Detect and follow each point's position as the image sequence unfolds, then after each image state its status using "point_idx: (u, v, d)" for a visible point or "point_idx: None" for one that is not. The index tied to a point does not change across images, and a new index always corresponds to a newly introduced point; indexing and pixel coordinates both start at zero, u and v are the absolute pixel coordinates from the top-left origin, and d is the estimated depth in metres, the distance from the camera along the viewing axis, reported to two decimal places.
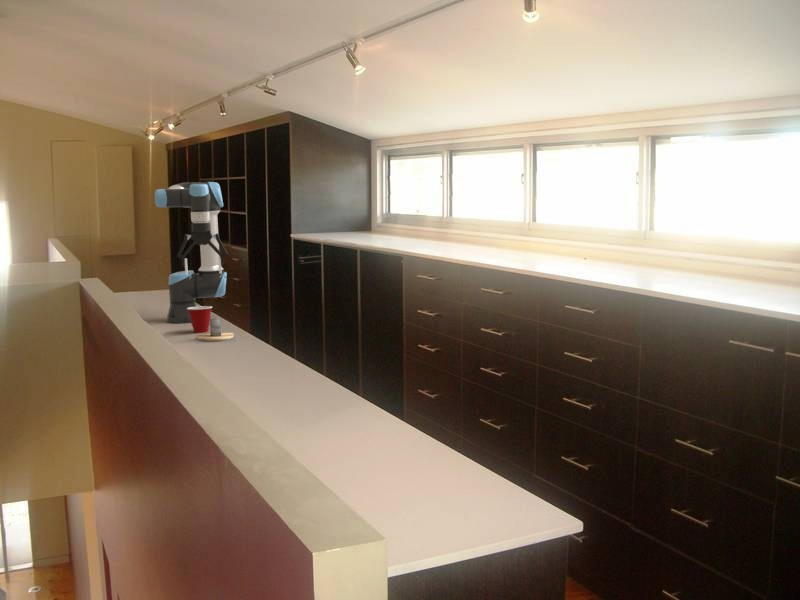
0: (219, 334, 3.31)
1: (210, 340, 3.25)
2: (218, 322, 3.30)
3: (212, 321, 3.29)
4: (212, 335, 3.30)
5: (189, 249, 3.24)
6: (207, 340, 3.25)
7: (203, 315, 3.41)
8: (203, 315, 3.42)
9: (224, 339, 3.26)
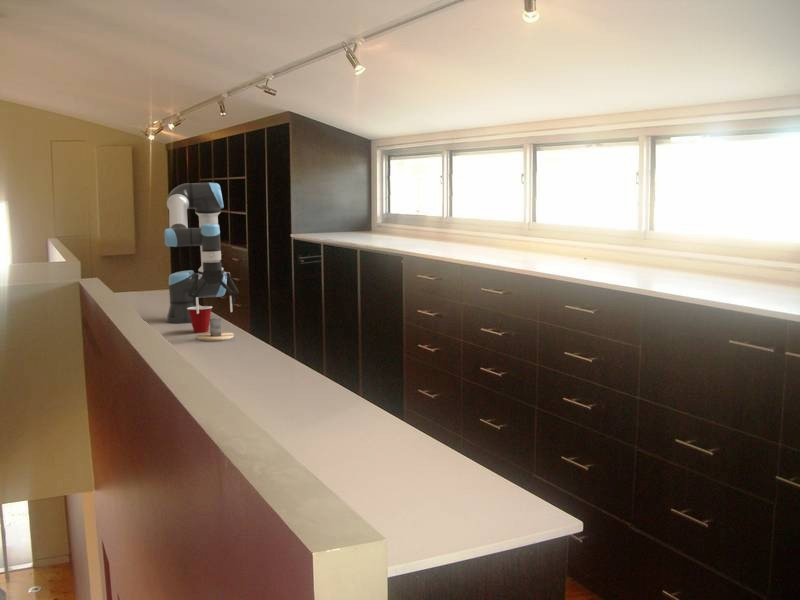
0: (219, 334, 3.31)
1: (210, 340, 3.25)
2: (218, 322, 3.30)
3: (212, 321, 3.29)
4: (212, 335, 3.30)
5: (200, 288, 3.26)
6: (207, 340, 3.25)
7: (203, 315, 3.41)
8: (203, 315, 3.42)
9: (224, 339, 3.26)
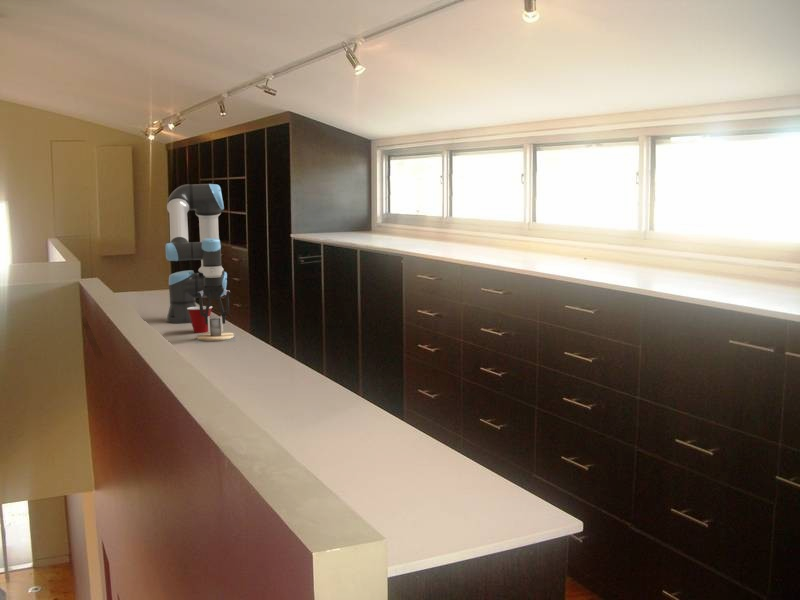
0: (219, 334, 3.31)
1: (210, 340, 3.25)
2: (218, 322, 3.30)
3: (212, 321, 3.29)
4: (212, 335, 3.30)
5: (207, 305, 3.28)
6: (207, 340, 3.25)
7: None
8: None
9: (224, 339, 3.26)
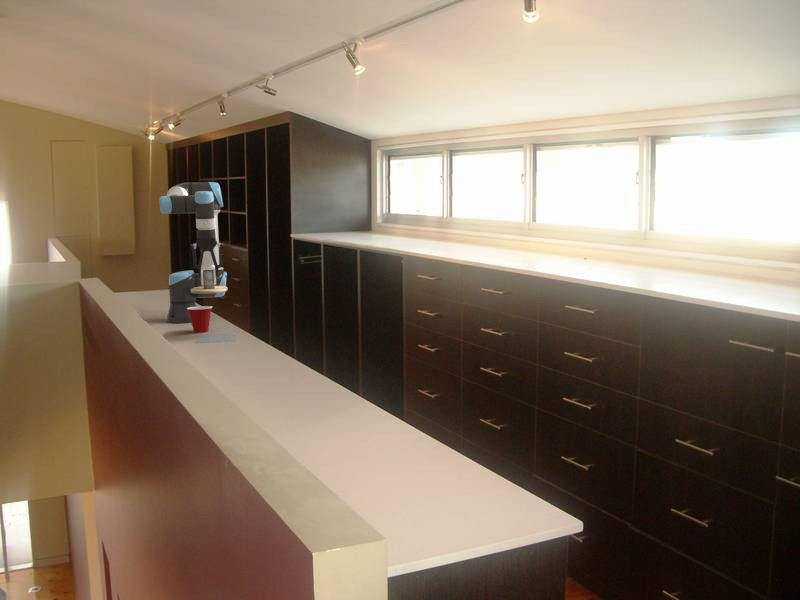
0: (212, 287, 3.32)
1: (203, 292, 3.26)
2: (211, 275, 3.31)
3: (205, 274, 3.30)
4: (205, 288, 3.31)
5: (201, 258, 3.30)
6: (200, 292, 3.26)
7: (203, 315, 3.41)
8: (203, 315, 3.42)
9: (217, 291, 3.28)
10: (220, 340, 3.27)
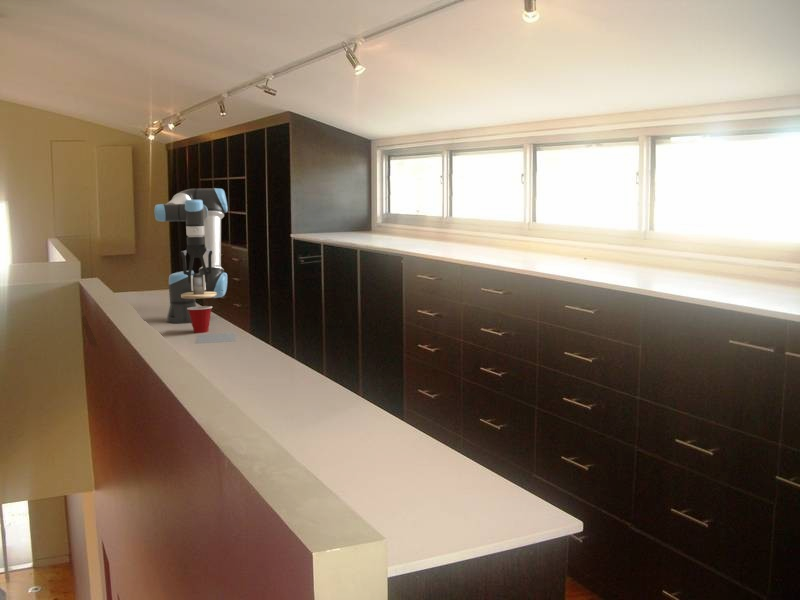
0: (202, 292, 3.42)
1: (193, 297, 3.36)
2: (201, 280, 3.41)
3: (195, 279, 3.40)
4: (195, 293, 3.42)
5: (191, 264, 3.40)
6: (190, 297, 3.36)
7: (203, 315, 3.41)
8: (203, 315, 3.42)
9: (206, 296, 3.38)
10: (220, 340, 3.27)
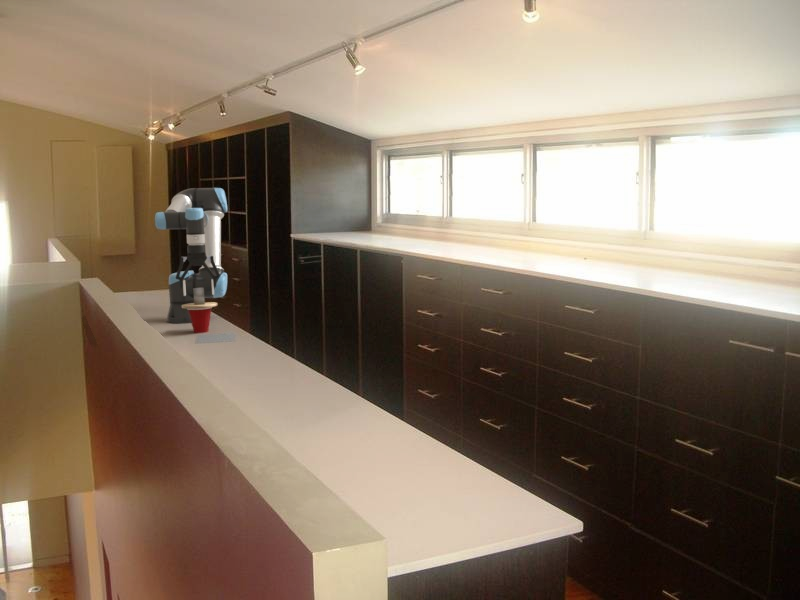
0: (202, 302, 3.43)
1: (193, 307, 3.37)
2: (201, 291, 3.42)
3: (195, 289, 3.42)
4: (196, 303, 3.43)
5: (186, 271, 3.40)
6: (191, 307, 3.37)
7: (203, 315, 3.41)
8: (203, 315, 3.42)
9: (207, 306, 3.39)
10: (220, 340, 3.27)
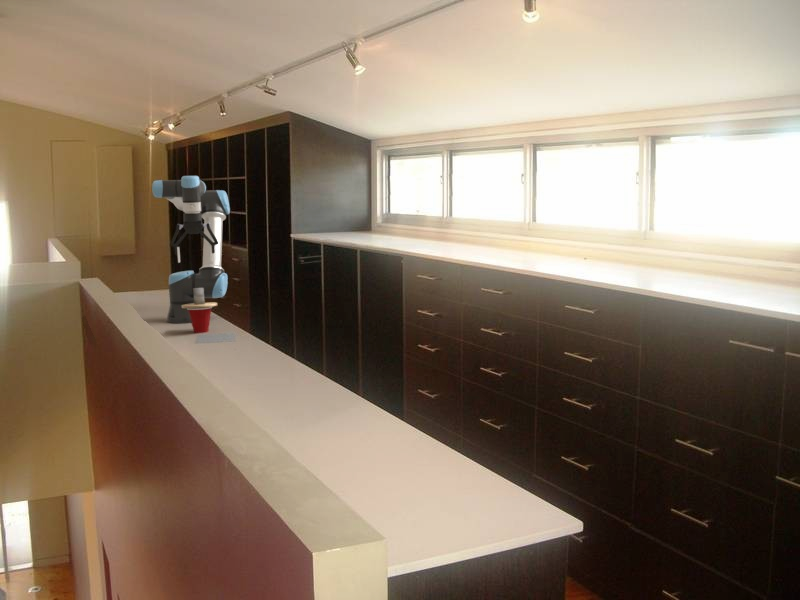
0: (202, 302, 3.43)
1: (193, 306, 3.37)
2: (201, 290, 3.43)
3: (195, 289, 3.42)
4: (196, 303, 3.43)
5: (181, 238, 3.40)
6: (190, 307, 3.37)
7: (203, 315, 3.41)
8: (203, 315, 3.42)
9: (207, 306, 3.39)
10: (220, 340, 3.27)
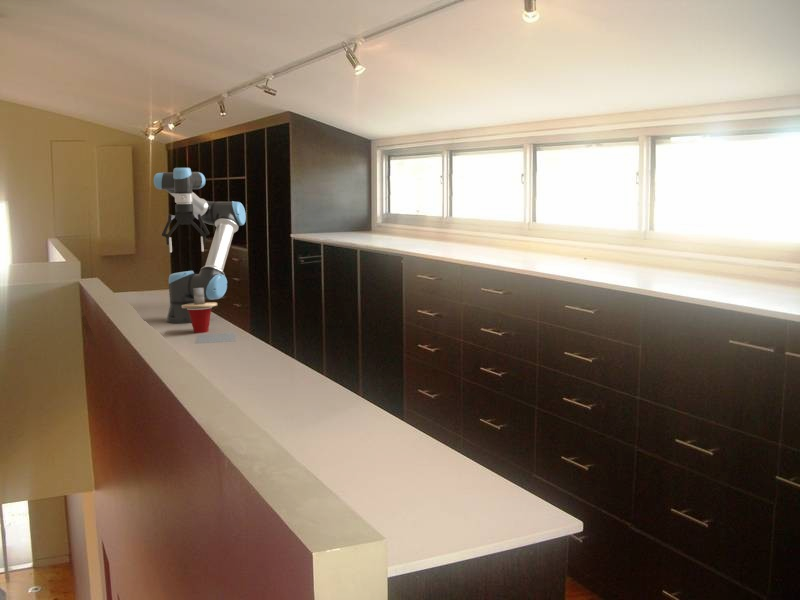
0: (202, 302, 3.43)
1: (193, 306, 3.37)
2: (201, 290, 3.43)
3: (195, 289, 3.42)
4: (196, 303, 3.43)
5: (173, 228, 3.48)
6: (190, 307, 3.37)
7: (203, 315, 3.41)
8: (203, 315, 3.42)
9: (207, 306, 3.39)
10: (220, 340, 3.27)
